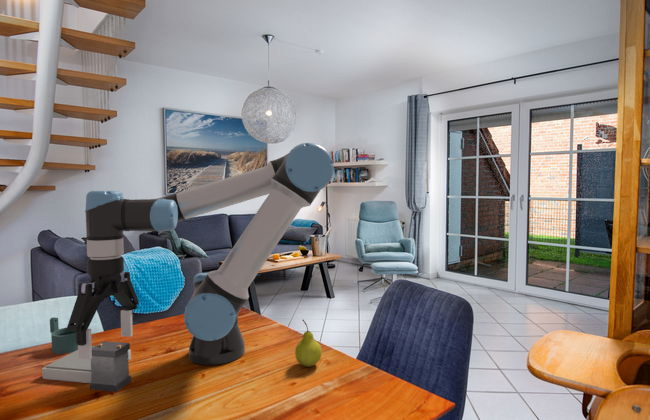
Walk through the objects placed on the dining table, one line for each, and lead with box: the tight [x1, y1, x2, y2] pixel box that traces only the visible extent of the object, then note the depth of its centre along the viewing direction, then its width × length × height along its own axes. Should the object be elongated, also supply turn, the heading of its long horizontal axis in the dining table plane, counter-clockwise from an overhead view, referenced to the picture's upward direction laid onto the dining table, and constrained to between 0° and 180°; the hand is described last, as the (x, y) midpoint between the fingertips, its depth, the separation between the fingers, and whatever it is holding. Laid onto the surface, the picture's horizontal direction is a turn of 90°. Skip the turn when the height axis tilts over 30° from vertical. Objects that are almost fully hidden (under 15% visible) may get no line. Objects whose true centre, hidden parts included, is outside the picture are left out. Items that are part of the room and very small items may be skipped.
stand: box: [41, 345, 132, 384], centre depth 103 cm, size 14×14×3 cm
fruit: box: [294, 319, 323, 368], centre depth 104 cm, size 7×7×12 cm
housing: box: [89, 340, 132, 393], centre depth 94 cm, size 7×5×10 cm
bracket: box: [49, 317, 84, 355], centre depth 117 cm, size 9×9×9 cm
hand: (107, 346), depth 94 cm, fingers open, 13 cm apart
